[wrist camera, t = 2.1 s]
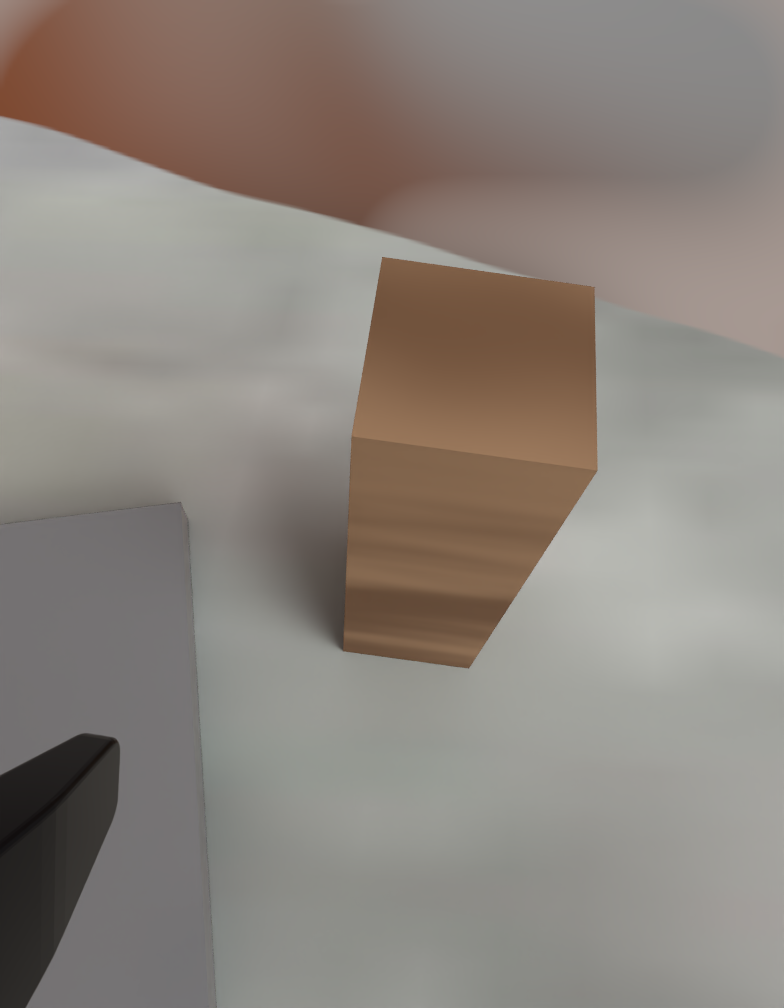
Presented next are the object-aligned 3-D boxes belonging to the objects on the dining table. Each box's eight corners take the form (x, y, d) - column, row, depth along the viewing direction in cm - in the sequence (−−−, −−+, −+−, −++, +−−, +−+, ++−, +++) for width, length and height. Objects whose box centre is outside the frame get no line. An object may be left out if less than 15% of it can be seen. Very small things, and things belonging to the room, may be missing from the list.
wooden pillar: (468, 668, 23) (597, 470, 12) (343, 651, 23) (351, 436, 12) (476, 552, 25) (594, 287, 13) (360, 536, 25) (382, 257, 13)
